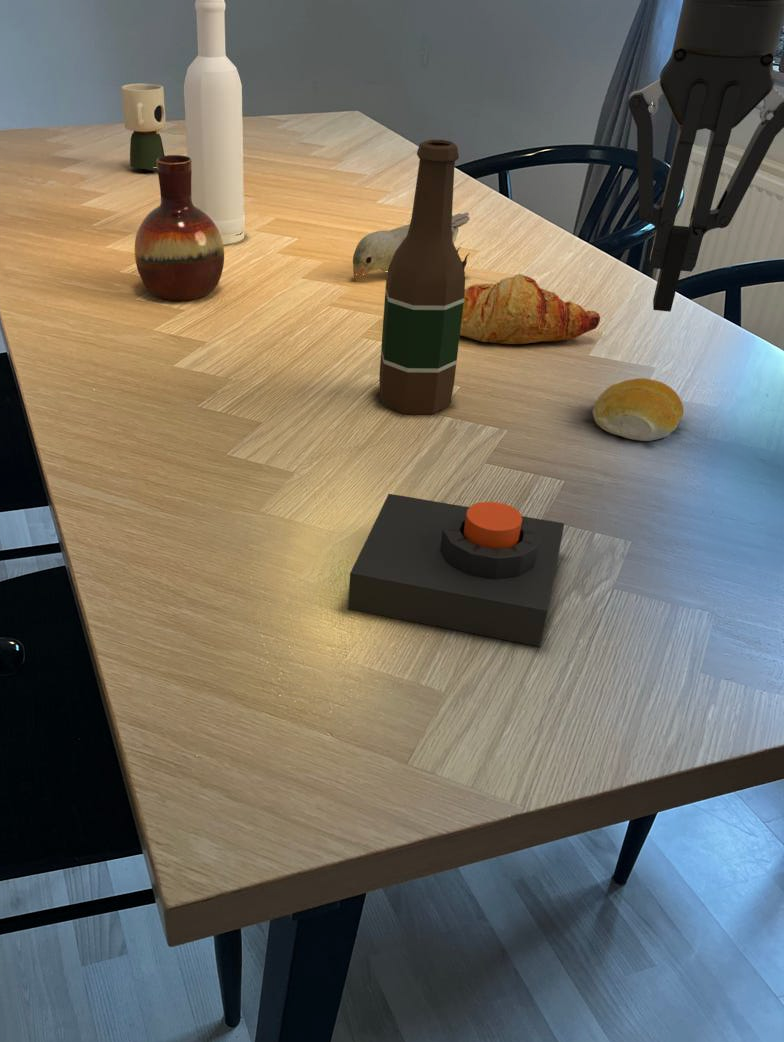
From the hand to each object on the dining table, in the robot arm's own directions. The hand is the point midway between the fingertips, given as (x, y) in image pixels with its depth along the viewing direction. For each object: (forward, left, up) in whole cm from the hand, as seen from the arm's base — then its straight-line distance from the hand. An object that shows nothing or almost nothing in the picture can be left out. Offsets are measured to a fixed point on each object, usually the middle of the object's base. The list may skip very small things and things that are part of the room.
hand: (661, 305), depth 88 cm
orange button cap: (+10, +31, -8) cm, 33 cm away
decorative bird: (+31, -38, -13) cm, 50 cm away
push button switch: (+12, +31, -12) cm, 35 cm away
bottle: (+61, -45, -13) cm, 77 cm away
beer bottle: (+22, 0, -13) cm, 25 cm away
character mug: (+87, -78, -13) cm, 117 cm away
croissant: (+16, -22, -13) cm, 30 cm away
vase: (+57, -22, -13) cm, 62 cm away
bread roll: (0, -2, -13) cm, 13 cm away
